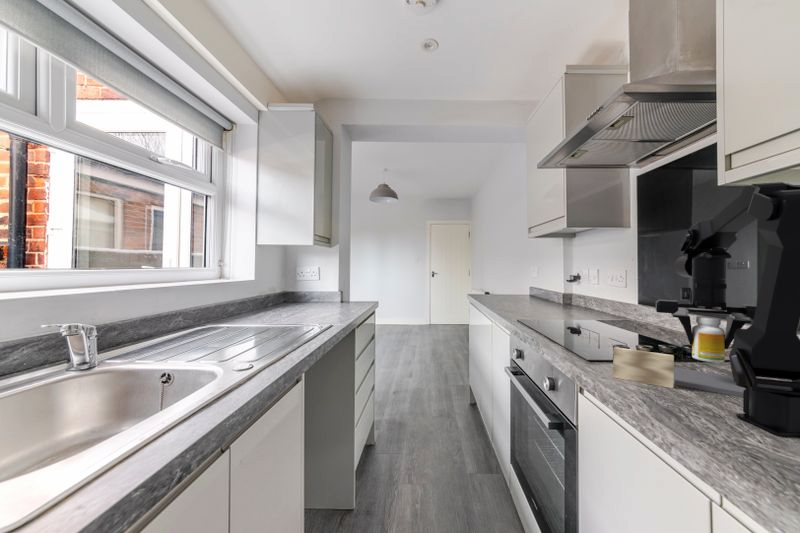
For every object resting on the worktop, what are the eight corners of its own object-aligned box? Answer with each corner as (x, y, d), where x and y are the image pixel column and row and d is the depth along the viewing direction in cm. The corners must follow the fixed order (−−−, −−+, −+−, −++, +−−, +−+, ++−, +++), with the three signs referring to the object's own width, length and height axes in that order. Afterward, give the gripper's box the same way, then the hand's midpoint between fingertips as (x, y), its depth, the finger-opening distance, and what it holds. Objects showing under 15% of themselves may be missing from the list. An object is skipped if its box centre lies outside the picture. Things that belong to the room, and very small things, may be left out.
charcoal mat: (737, 381, 74) (738, 377, 74) (753, 399, 64) (753, 394, 64) (670, 370, 81) (670, 366, 81) (675, 385, 71) (675, 380, 71)
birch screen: (672, 386, 70) (673, 355, 70) (673, 388, 69) (673, 356, 69) (613, 375, 77) (613, 347, 77) (613, 377, 76) (613, 348, 76)
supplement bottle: (731, 363, 69) (732, 319, 69) (707, 363, 70) (707, 319, 70) (708, 356, 75) (709, 315, 75) (685, 356, 75) (686, 315, 75)
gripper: (758, 279, 73) (757, 346, 73) (654, 276, 84) (654, 334, 84) (775, 280, 64) (774, 357, 64) (657, 277, 75) (656, 342, 75)
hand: (707, 346), depth 72 cm, fingers closed on supplement bottle, 5 cm apart
